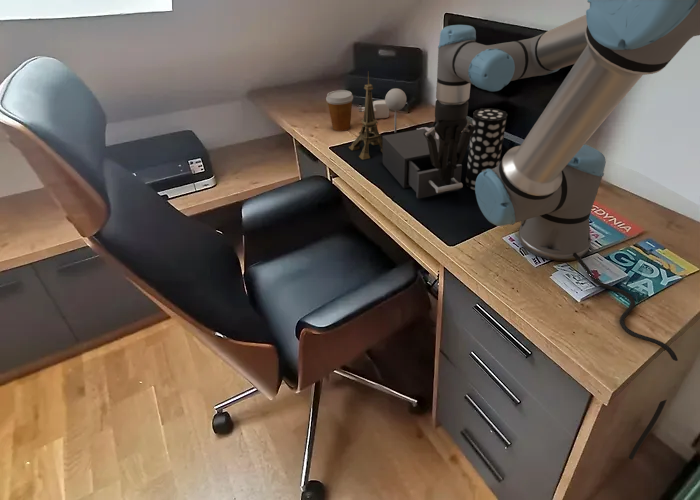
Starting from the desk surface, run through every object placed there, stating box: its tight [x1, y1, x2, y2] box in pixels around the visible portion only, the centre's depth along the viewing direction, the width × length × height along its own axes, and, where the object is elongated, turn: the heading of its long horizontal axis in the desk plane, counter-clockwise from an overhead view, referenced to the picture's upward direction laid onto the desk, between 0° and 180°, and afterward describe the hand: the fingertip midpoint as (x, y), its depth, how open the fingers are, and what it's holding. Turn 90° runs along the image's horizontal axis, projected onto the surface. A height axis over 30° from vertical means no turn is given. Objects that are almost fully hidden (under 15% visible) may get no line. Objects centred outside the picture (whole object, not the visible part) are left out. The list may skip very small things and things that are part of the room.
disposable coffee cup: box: [325, 89, 354, 132], centre depth 163 cm, size 10×10×12 cm
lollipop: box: [384, 87, 407, 134], centre depth 156 cm, size 7×7×15 cm
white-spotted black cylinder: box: [464, 107, 508, 191], centre depth 123 cm, size 8×8×20 cm
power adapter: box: [358, 99, 390, 120], centre depth 171 cm, size 11×5×6 cm, turn 94°
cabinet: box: [382, 128, 439, 189], centre depth 134 cm, size 17×14×9 cm
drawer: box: [407, 156, 464, 199], centre depth 126 cm, size 21×12×7 cm, turn 18°
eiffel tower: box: [348, 72, 383, 161], centre depth 143 cm, size 11×11×25 cm
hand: (444, 189), depth 120 cm, fingers closed
